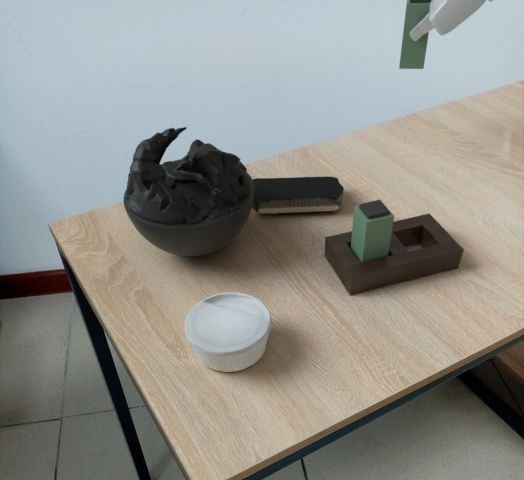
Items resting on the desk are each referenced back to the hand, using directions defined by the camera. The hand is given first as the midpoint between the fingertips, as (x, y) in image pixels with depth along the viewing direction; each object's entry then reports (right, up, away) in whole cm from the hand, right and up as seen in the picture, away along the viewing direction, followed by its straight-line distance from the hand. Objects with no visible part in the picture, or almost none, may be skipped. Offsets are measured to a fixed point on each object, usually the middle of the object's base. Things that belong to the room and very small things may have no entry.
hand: (412, 31), depth 91 cm
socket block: (-6, -41, -9) cm, 43 cm away
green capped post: (+1, -4, +4) cm, 5 cm away
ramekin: (-30, -55, -19) cm, 65 cm away
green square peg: (-10, -42, -9) cm, 44 cm away
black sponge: (-20, -29, +4) cm, 35 cm away
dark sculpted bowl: (-37, -37, -3) cm, 52 cm away
